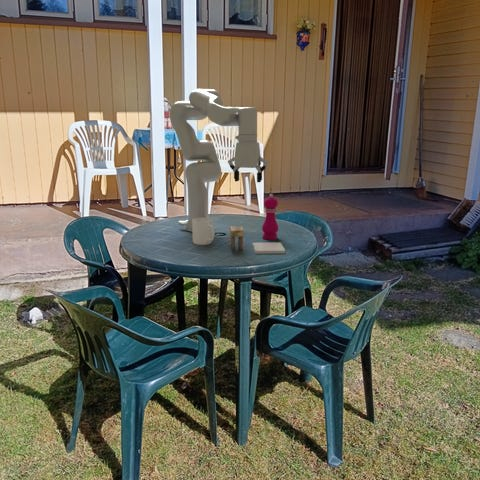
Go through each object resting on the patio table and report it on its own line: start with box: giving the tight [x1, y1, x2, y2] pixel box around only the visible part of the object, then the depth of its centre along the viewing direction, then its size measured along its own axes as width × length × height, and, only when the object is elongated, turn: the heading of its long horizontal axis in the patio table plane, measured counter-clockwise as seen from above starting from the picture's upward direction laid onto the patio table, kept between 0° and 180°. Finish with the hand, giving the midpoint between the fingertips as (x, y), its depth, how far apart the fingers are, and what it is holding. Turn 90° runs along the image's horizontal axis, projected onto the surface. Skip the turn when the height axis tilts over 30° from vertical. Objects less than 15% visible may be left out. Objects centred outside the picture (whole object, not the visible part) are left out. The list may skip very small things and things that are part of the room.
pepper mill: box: [261, 193, 279, 241], centre depth 218 cm, size 7×7×20 cm
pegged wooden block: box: [229, 225, 245, 252], centre depth 203 cm, size 5×8×8 cm, turn 4°
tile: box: [252, 242, 286, 255], centre depth 203 cm, size 12×12×1 cm
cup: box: [192, 217, 216, 246], centre depth 209 cm, size 8×12×10 cm
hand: (248, 181), depth 202 cm, fingers open, 9 cm apart
